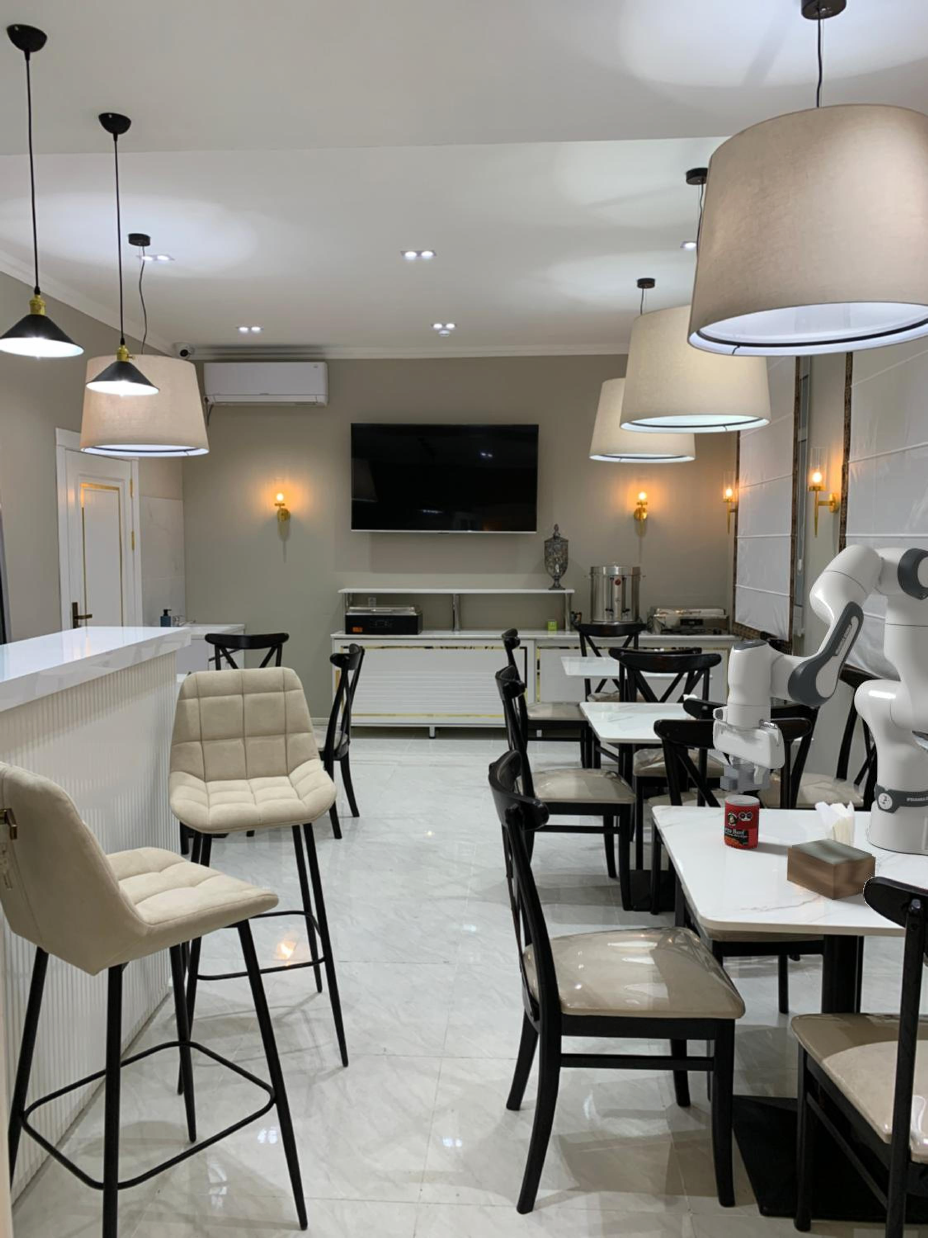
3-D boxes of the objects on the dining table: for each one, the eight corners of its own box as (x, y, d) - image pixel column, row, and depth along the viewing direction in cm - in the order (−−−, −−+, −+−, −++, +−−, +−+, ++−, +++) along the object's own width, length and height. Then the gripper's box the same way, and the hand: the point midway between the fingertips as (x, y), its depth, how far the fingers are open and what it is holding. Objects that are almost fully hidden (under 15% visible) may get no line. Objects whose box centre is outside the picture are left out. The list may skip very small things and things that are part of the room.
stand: (827, 871, 193) (828, 837, 193) (874, 890, 183) (875, 854, 182) (786, 880, 188) (788, 845, 188) (832, 900, 177) (834, 862, 177)
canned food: (717, 843, 212) (718, 798, 211) (737, 837, 217) (739, 793, 216) (744, 852, 206) (745, 805, 205) (764, 845, 211) (766, 800, 210)
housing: (754, 782, 194) (755, 762, 194) (769, 788, 189) (770, 767, 189) (717, 786, 191) (717, 765, 191) (731, 792, 186) (732, 771, 186)
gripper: (793, 724, 180) (791, 790, 181) (732, 707, 200) (731, 767, 201) (767, 726, 178) (765, 793, 179) (708, 709, 198) (707, 770, 199)
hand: (747, 779), depth 190 cm, fingers closed on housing, 5 cm apart
